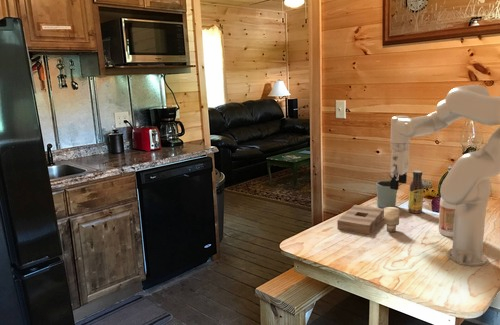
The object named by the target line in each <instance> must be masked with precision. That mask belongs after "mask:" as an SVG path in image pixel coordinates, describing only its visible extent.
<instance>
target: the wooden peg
mask: <svg viewBox="0 0 500 325" xmlns="http://www.w3.org/2000/svg"><path fill="white" fill-rule="evenodd" d="M383 224H385V225H386V232H388V233H395V232H397V226H399V224H400V208H398V207H396V206H395V207H386V208H384V218H383Z"/></svg>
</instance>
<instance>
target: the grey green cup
mask: <svg viewBox="0 0 500 325" xmlns="http://www.w3.org/2000/svg"><path fill="white" fill-rule="evenodd" d="M397 193H398V190H394V189H390V180H379V181H377V182H376V198H377V199H376V206H377V208H381V209H384V208H386V207H395V208H396V203H397Z"/></svg>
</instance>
